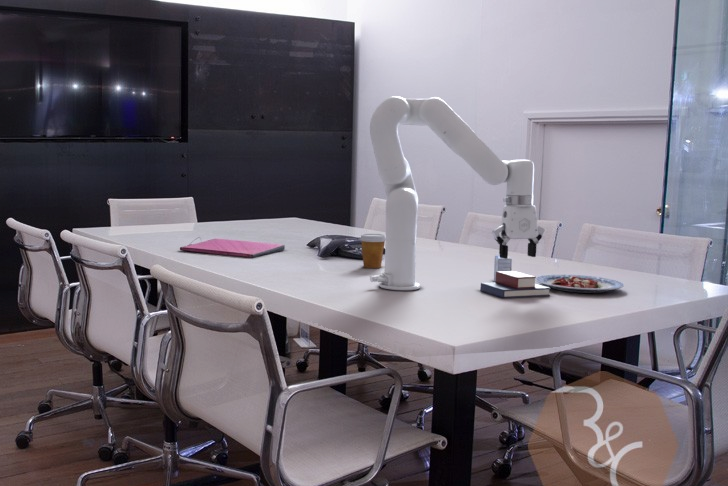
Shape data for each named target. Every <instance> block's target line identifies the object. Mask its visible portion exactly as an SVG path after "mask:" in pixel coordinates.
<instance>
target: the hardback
mask: <svg viewBox="0 0 728 486" xmlns="http://www.w3.org/2000/svg"><path fill="white" fill-rule="evenodd" d="M550 290H551V287H550V286H547V285H543V284H539V283H535V288H527V289H515V288H512V287H508V286H505V285H502V284H498V283H495V281H493V282H481V283H480V292H482V293H485V294H489V295H492V296H495V297H498V298H501V299H516V298H535V297H536V298H537V297H550V296H551V294H550Z"/></svg>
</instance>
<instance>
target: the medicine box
mask: <svg viewBox="0 0 728 486" xmlns="http://www.w3.org/2000/svg"><path fill="white" fill-rule="evenodd" d="M512 267H513V259H512V258H511V256H509V255H508V258H506V259H505V258H501V257H500V254H498V255H497V254H495V255H494V265H493V268H494V269H493V282H495V280H496V272H498V271H513V270H512Z"/></svg>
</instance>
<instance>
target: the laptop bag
mask: <svg viewBox="0 0 728 486" xmlns="http://www.w3.org/2000/svg"><path fill="white" fill-rule="evenodd" d="M197 239H200V241H201V242H196V243H193V242H194V241H195V240H197ZM192 243H193V244H192ZM285 246H286V245H285V244H279V243H269V242H261V241H260V242H258V241H251V240H250V241H249V240H237V239H229V238H228V239H226V238H211V239H208V240H205V241H202V238H201V237H200V236H198V237H197V238H195V239H194V240H192V241H191V242H190V243H189V244H187V245H184V246H180V247H179V251H184V252H189V253H191V252H192V253H201V254H209V255H218V256H229V257H238V258H248V259H249V258H252V259H254V258H256V257H261V256H265V255H268V254H272V253H278V252H281V251H285V250H286V249H285V248H286V247H285Z"/></svg>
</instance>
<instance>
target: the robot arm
mask: <svg viewBox="0 0 728 486" xmlns="http://www.w3.org/2000/svg"><path fill="white" fill-rule="evenodd" d="M399 126H426V127H428V128H429V129H430V130H431V131H432V132H433V133H434V134H435V135H436V136H437V137H438V138H439V139H440V140H441V141H442V142H443V143H444V144H445V145H446V146H447V148H449V149H450V150H451V151H452V152H453V153H454V154H455V155H457V156H459V157H460V158H461V159H462V160H463V161H465V162H466V164H467V165H469V166H470V167H471V168H472V169H473V170H474V171H475V173H477V174H478V176H479V177H480V178H481V179H482V180H483V181H484V182H485V183H487V184H488V185H490V186H491V185H492V186H498V185H501V184H503V183H506V195H505V197H503V199H502V200H503V203H505V205H504V207H503V209H502V215H501V221H500V225H499V226H497V227H496V228H495V229H493V230H491V234H492V236H493V237H494V240H495V241H496V242H497V245H499V246H498V247H499V249H498V251H499V252H498V255H500V257H501V258H505V259H506V258H508V256H509V245H508V243H509V242H510V240H526V239H527V240H528V242H527V256H528V257H530V258H531V257H532V258H536V256H537V245H539V243H540V240H541V239H542V238H543V235H544V233H545V228H543V227H542V226H540V225H539V223H538V212H537V207H536V205H534V182H535V164H534V161H532V160H530V159H513V160H512V159H511V160H502V159H501V158H500V157H499V156H498V155H497V154H496V153H495V152H494V151H493V150H492V149H491V148H490V147H489V146H488V145H487V143H485V142H484V141H483V140H482V139H481V138H480V137H479V136H478V134H477V133H476V132H475V131H474V130H473V128H471V127H470V125H468V123H467V122H465V121H464V120H463V118H461V116H460V115H458V114H457V112H455V110H453V109H452V107H450V105H449V104H447V103H446V101H444V100H443V99H441V98H440V97H437V96H434V97H433V96H432V97H429V98H405V97H401V96H398V95H392V96H389V97H387V98H385V99H384V100H382V102H381V103H380V104H378V106H377V107H376V108H375V110H374V111H373V113H372V116H371V118H370V124H369V134H370V139H371V144H372V148H373V153H374V156H375V161H376V165H377V170H378V175H379V177H380V179H381V180H382V183H383V187H384V191H385V194H386V201H385V238H386V240H385V243H384V248H385V249H384V271H381V274H379V275H370V276H369V281H370V282H371V283H376V282H377V283H379V284H378V286H379V287H380V288H381V289H386V290H390V291H415V290H416V291H417V290H420V288H421V284H420V283H419V282H417V281H416V268H417V267H416V264H417V259H416V258H417V231H418V207H419V196H418V192H417V189H416V185H415V180H414V178H413V173H412V170H411V166H410V163H409V161H408V159H406V158H405V155H404V151H403V147H402V144H401V139H400V134H399V130H398V129H399Z"/></svg>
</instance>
